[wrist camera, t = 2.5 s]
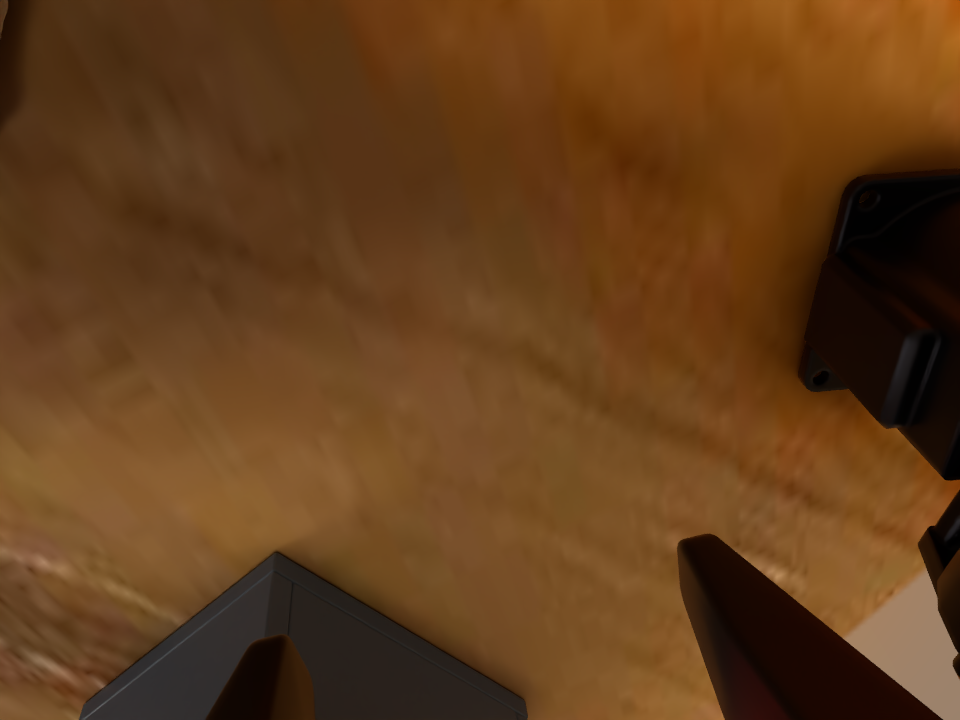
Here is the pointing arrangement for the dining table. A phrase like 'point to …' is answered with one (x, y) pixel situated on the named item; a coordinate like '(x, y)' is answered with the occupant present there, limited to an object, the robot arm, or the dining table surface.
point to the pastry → (3, 13)
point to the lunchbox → (304, 659)
